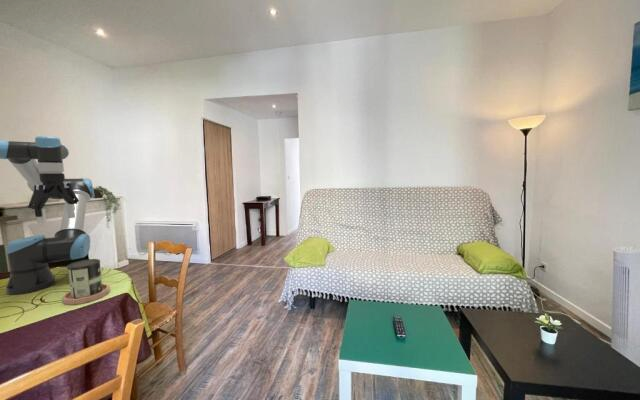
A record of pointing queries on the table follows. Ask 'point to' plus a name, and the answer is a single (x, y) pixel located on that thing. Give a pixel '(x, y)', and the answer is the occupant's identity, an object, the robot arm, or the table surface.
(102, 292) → the saucer
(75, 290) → the coffee can
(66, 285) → the table surface
